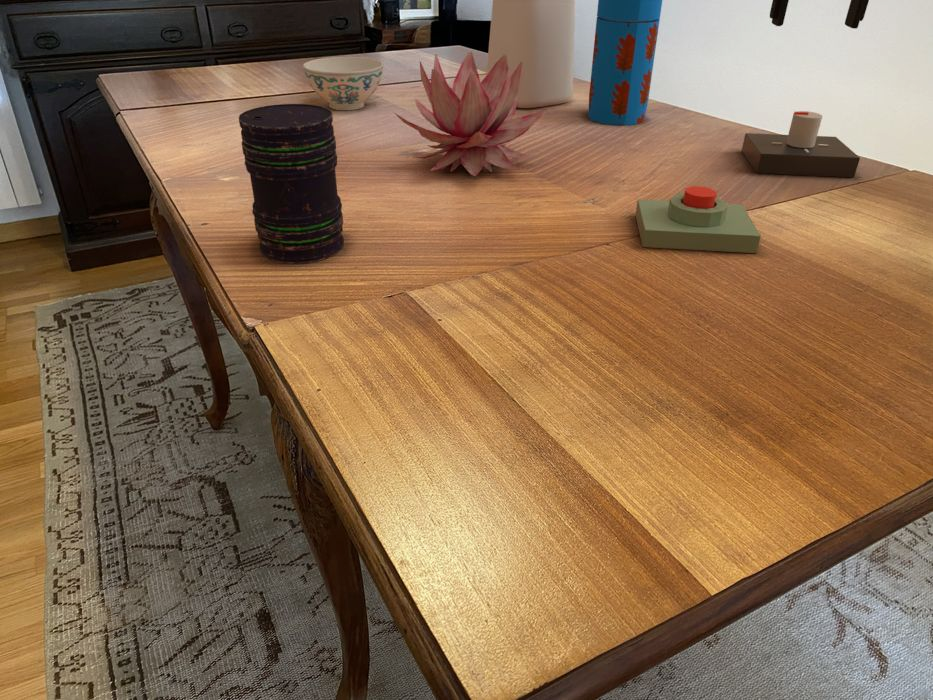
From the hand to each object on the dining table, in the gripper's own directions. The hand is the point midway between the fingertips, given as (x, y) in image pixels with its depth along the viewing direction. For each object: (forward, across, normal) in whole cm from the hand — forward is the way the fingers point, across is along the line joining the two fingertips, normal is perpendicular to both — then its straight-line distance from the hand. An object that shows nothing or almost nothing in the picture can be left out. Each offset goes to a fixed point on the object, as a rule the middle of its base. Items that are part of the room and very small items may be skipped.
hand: (813, 25), depth 95 cm
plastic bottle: (+21, +39, -41) cm, 60 cm away
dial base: (+20, -4, -4) cm, 21 cm away
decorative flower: (+21, +46, +3) cm, 51 cm away
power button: (+17, +16, +25) cm, 34 cm away
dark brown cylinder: (+21, +62, +35) cm, 74 cm away
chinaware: (+21, +74, -30) cm, 82 cm away
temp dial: (+17, -4, -4) cm, 18 cm away
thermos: (+21, +22, -29) cm, 42 cm away
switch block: (+20, +16, +25) cm, 36 cm away
